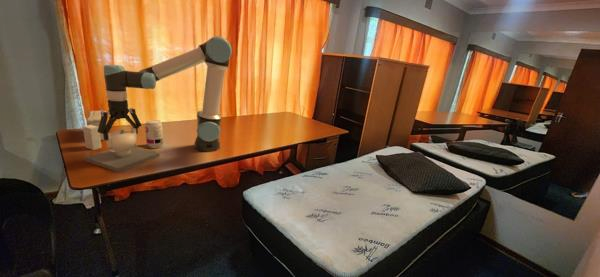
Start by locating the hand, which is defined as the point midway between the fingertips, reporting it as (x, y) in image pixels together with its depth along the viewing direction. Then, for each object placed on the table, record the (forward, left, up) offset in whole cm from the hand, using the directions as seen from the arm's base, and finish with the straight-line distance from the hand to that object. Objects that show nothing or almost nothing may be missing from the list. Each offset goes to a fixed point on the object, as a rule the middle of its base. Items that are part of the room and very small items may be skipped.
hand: (122, 142), depth 118 cm
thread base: (0, 0, -9) cm, 9 cm away
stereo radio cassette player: (+38, -14, -9) cm, 41 cm away
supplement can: (+2, -20, -9) cm, 22 cm away
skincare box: (+23, -1, -9) cm, 25 cm away
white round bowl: (0, 0, -2) cm, 2 cm away
